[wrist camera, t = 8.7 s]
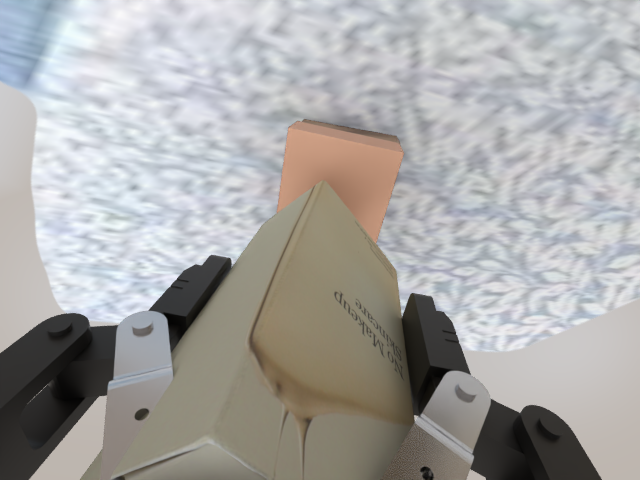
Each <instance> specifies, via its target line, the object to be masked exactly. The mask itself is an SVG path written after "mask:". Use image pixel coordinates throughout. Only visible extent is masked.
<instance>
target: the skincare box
mask: <svg viewBox="0 0 640 480" xmlns="http://www.w3.org/2000/svg"><path fill="white" fill-rule="evenodd" d="M171 360H172V370H173V380H172V382H171V383H170V385H169V386H168V388H167V389H166V391H165V393H164V394H163V396H162V397H161V399H160V400H159V402H158V403H157V405H156V406H155V408H154V410H153V411H152V413H151V414H150V416H149V417H148V415H149V413H147V414H145V415H144V416H143V417H142V418H141V419H140V420H139V421H141V420H144V419H145V418H147V417H148V419H147V420H146V422H145V424H144V425H143V427H142V428H141V430H140V431H139V433H138V434H137V436H136V438H135V439H134V441H133V442H132V444H131V445H130V447H129V449H128V450H127V452H126V453H125V455H124V456H123V458H122V459H121V461H120V463H119V464H118V466H117V467H116V469H115V470H114V472H113V474H112V475H111V479H115V478H116V477H119V476H124V477H125V480H380V479H381V478H382V476H383V474H384V473H385V471H386V469H387V468H388V466H389V464H390V463H391V461H392V459H393V458H394V456H395V454H396V453H397V451H398V449H399V448H400V446H401V444H402V443H403V441H404V439H405V438H406V436H407V434H408V433H409V431H410V429H411V428H412V426H413V424H414V423H415V420H414V413H413V405H412V397H411V388H410V380H409V372H408V364H407V356H406V348H405V340H404V333H403V325H402V315H401V307H400V299H399V290H398V282H397V274H396V270H395V268H394V267H393V266H392V264H391V263H390V262H389V260H388V259H387V258H386V256H385V255H384V254H383V252H382V251H381V250H380V248H379V247H378V246H377V245H376V243H375V242H374V241H373V239H372V238H371V237H370V236H369V234H368V233H367V232H366V230H365V229H364V228H363V227H362V225H361V224H360V223H359V222H358V220H357V219H356V218H355V216H354V215H353V214H352V213H351V211H350V210H349V209H348V208H347V206H346V205H345V204H344V203H343V201H342V200H341V199H340V198H339V196H338V195H337V194H336V193H335V191H334V190H333V189H332V188H331V187H330V185H329V184H328V183H327V182H326V181H325V180H322V181H321V182H319V183H318V184H316V185H315V186H314V187H312V188H311V189H309V190H308V191H307V192H305V193H304V194H302V195H301V196H300V197H298V198H297V199H296V200H294V201H293V202H292V203H290V204H289V205H287V206H286V207H285V208H283V209H282V210H281V211H279V212H278V213H277V214H275V215H274V216H273V217H272V218H270V219H269V220H268V221H267V222H265V223H264V224H263V225H262V226H261V228H260V229H259V231H258V232H257V233H256V235H255V236H254V237H253V239H252V240H251V242H250V243H249V244H248V246H247V247H246V249H245V250H244V251H243V253H242V254H241V255H240V257H239V258H238V260H237V261H236V263H235V264H234V265H233V267H232V268H231V270H230V271H229V273H228V274H227V275H226V277H225V278H224V279H223V281H222V282H221V284H220V285H219V286H218V288H217V289H216V291H215V292H214V293H213V295H212V296H211V298H210V299H209V300H208V302H207V303H206V305H205V306H204V308H203V309H202V310H201V312H200V313H199V315H198V316H197V317H196V319H195V320H194V321H193V323H192V324H191V325H190V327H189V328H188V330H187V331H186V332H185V334H184V335H183V337H182V338H181V339H180V341H179V342H178V344H177V345H176V347H175V348H174V349H173V351H172V352H171ZM102 451H103V449H102V450H101V452H100V453H99V454H98V456H97V457H96V458H95V460H94V461H93V462H92V464H91V465H90V466H89V468H88V469H87V471H86V472H85V473H84V475H83V476H82V477H81V479H80V480H100V475H101V463H102Z"/></svg>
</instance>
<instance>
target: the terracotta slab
mask: <svg viewBox="0 0 640 480" xmlns="http://www.w3.org/2000/svg"><path fill="white" fill-rule="evenodd" d="M403 155H404V152H403V150H402V148H401V146H400V144H399V143H396V142H392V141H387V140H383V139H378V138H374V137H369V136H364V135H360V134H355V133H351V132H346V131H341V130H337V129H332V128H328V127H323V126H319V125H314V124H309V123H305V122H300V121H297V122H295V123H294V124H293V125H291V126H290V127H289V128H288V135H287V142H286V149H285V156H284V164H283V171H282V178H281V186H280V193H279V200H278V208H277V213H278V212H279V211H281V210H282V209H283V208H285V207H286V206H287V205H289V204H290V203H292V202H293V201H294V200H296V199H297V198H298V197H300V196H301V195H302V194H304V193H305V192H307V191H308V190H309V189H311V188H312V187H314V186H315V185H316V184H318V183H319V182H321V181H322V180H325V181H326V182H327V183H328V184H329V185H330V187H331V188H332V189H333V190H334V191H335V193H336V194H337V195H338V196H339V198H340V199H341V200H342V201H343V203H344V204H345V205H346V206H347V208H348V209H349V210H350V211H351V213H352V214H353V215H354V216H355V218H356V219H357V220H358V222H359V223H360V224H361V225H362V227H363V228H364V229H365V230H366V232H367V233H368V234H369V236H370V237H371V238H372V239H373V241H374V242H375V243H376V242H377V239H378V235H379V232H380V229H381V226H382V223H383V219H384V216H385V213H386V210H387V206H388V203H389V200H390V197H391V194H392V190H393V187H394V184H395V181H396V177H397V174H398V171H399V168H400V165H401V161H402V158H403Z"/></svg>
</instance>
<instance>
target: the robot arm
mask: <svg viewBox="0 0 640 480" xmlns="http://www.w3.org/2000/svg"><path fill="white" fill-rule="evenodd" d="M230 270H231V259H230V258H226V257H221V256H216V255H211V256H209V258H208V259H207V260H206V261H205V262H204V264H203V265H202V266H201V265H194V266H192V267H190V268H188V269H186V270H184V271H183V272H182V274H181V275H180V276H179V277H178V278H177V280H175V281H174V283H173V284H172V285H171V287H169V288H168V289H167V290H166V291H165V293H164V294H163V295H162V296H161V297H160V298H159V299H158V300H157V301H156V303H155V304H154V305H153V306H152V307H151V308H150V309H149V310H148V311H143V312H138V313H135V314H132V315H130V316H128V317H127V318H125V319H124V320H123V321H122V322H121V323H120V324H119V325H115V326H97V327H90V324H89V320H88V319H87V317H85V316H84V315H81V314H76V313H68V314H61V315H57V316H54V317H51V318H49V319H47V320H45V321H43V322H42V323H40V324H38V325H37V326H36V327H34V328H33V329H32V330H31V331H29V332H28V333H27V334H25V335H24V336H23V337H21V338H20V339H19V340H17V341H16V342H15V343H13V344H12V345H11V346H9V347H8V348H7V349H6V350H4V351H3V352H1V353H0V480H29V479H30V477H31V476H32V475H33V474H34V473H35V472H36V470H37V469H38V468H39V467H40V465H41V464H42V463H43V462H44V461H45V459H47V457H48V456H49V455H50V454H51V453H52V451H53V450H54V449H55V448H56V447H57V445H58V444H59V443H60V442H61V441H62V440H63V438H64V437H65V436H66V435H67V433H68V432H69V431H70V430H71V429H72V428H73V426H74V425H75V424H76V423H77V422H78V420H79V419H80V418H81V417H82V416H83V415H84V413H85V412H86V411H87V410H88V408H89V407H90V406H91V405H92V404H93V403H94V401H95V400H96V399H97V398H98V397H99V396H105V395H107V403H106V415H105V427H104V440H103V451H102V463H101V475H100V480H125V477H124V476H119V477H116V478H115V479H111V475H112V474H113V472H114V470H115V469H116V467H117V466H118V464H119V463H120V461H121V459H122V458H123V456H124V455H125V453H126V452H127V450H128V449H129V447H130V445H131V444H132V442H133V441H134V439H135V438H136V436H137V434H138V433H139V431H140V430H141V428H142V427H143V425H144V424H145V422H146V420H147V419H148V417H149V416H150V414H151V413H152V411H153V410H154V408H155V406H156V405H157V403H158V402H159V400H160V399H161V397H162V396H163V394H164V393H165V391H166V389H167V388H168V386H169V385H170V383H171V382H172V380H173V370H172V360H171V352H172V351H173V349H174V348H175V347H176V345H177V344H178V342H179V341H180V339H181V338H182V337H183V335H184V334H185V332H186V331H187V330H188V328H189V327H190V325H191V324H192V323H193V321H194V320H195V319H196V317H197V316H198V315H199V313H200V312H201V310H202V309H203V308H204V306H205V305H206V303H207V302H208V300H209V299H210V298H211V296H212V295H213V293H214V292H215V291H216V289H217V288H218V286H219V285H220V284H221V282H222V281H223V279H224V278H225V277H226V275H227V274H228V273H229V271H230ZM402 325H403V333H404V340H405V348H406V356H407V364H408V372H409V380H410V388H411V397H412V405H413V413H414V415H417V416H418V418H417V419H416V421H415V423H414V424H413V426H412V428H411V429H410V431H409V433H408V434H407V436H406V438H405V439H404V441H403V443H402V444H401V446H400V448H399V449H398V451H397V453H396V454H395V456H394V458H393V459H392V461H391V463H390V464H389V466H388V468H387V469H386V471H385V473H384V474H383V476H382V478H381V479H380V480H466V479H467V476H468V473H469V471H470V469H471V470H473V471H475V472H477V473H479V474H480V475H482V476H484V477H486V480H602V479H601V477H600V476H599V474H598V472H597V471H596V469H595V467H594V466H593V464H592V463H591V461H590V459H589V458H588V456H587V454H586V453H585V451H584V449H583V448H582V446H581V444H580V443H579V441H578V439H577V438H576V436H575V434H574V433H573V431H572V430H571V428H570V427H569V426H568V425H567V424H566V423H565V422H564V421H563V420H562V419H561V418H560V417H559V416H557V415H556V414H554V413H553V412H551V411H549V410H547V409H545V408H543V407H540V406H536V405H529V406H526V407H524V408H523V410H522V411H521V413H519V412H517V411H514V410H512V409H510V408H508V407H506V406H504V405H502V404H500V403H497V402H496V401H494V400H492V399H491V398H490V395H489V392H488V391H487V389H486V388H485V386H484V385H483V384H482V383H481V382H480V381H479V380H477V379H476V378H475V377H473V376H471V374H470V371H469V368H468V365H467V363H466V360H465V357H464V354H463V351H462V348H461V346H460V344H459V340H458V337H457V335H456V332H455V329H454V326H453V323H452V321H451V320H450V319H449V318H448V317H447V316H446V314H445V313H444V312H441V311H436V308H435V305H434V301H433V298H432V297H431V296H426V295H420V294H415V293H412V294H411V295H410V297H409V299H408V302H407V305H406V308H405V311H404V314H403V317H402ZM47 384H48V385H47ZM46 385H47V386H46ZM45 386H46V387H45ZM44 387H45V388H44ZM43 388H44V389H43ZM42 389H43V390H42ZM41 390H42V391H41ZM40 391H41V392H40ZM39 392H40V393H39ZM38 393H39V394H38ZM37 394H38V395H37ZM36 395H37V396H36ZM34 396H36V397H35V398H34ZM147 413H149V415H148V417H147V418H145V419H144V420H141V421H139V420H140V419H141V418H142V417H143V416H144V415H145V414H147Z"/></svg>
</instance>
